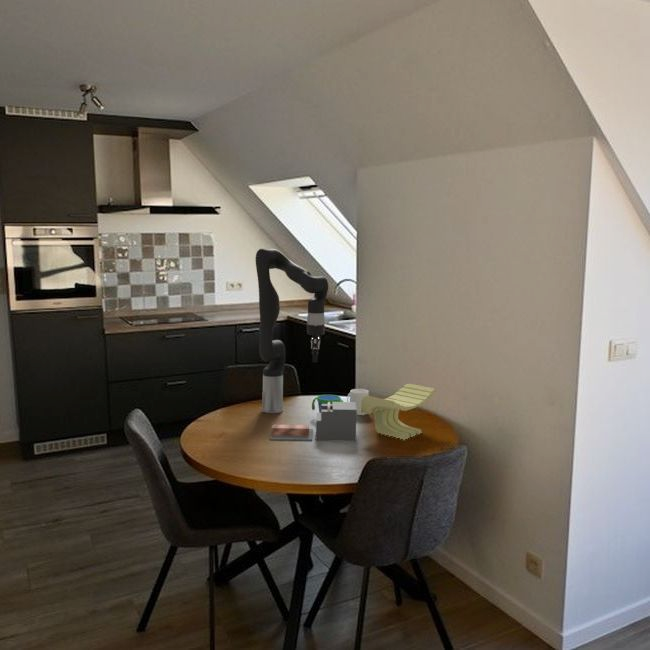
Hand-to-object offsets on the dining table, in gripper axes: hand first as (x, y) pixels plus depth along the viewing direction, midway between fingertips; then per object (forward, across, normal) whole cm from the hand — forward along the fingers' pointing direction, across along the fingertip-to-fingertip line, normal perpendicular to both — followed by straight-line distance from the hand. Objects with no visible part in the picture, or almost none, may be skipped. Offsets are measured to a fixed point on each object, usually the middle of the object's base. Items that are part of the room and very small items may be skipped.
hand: (315, 360), depth 276 cm
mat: (+28, +18, -9) cm, 34 cm away
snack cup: (+28, -6, +6) cm, 30 cm away
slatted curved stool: (+28, +12, +35) cm, 47 cm away
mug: (+28, -18, +19) cm, 39 cm away
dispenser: (+28, +18, +9) cm, 34 cm away
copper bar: (+27, +18, -9) cm, 34 cm away
